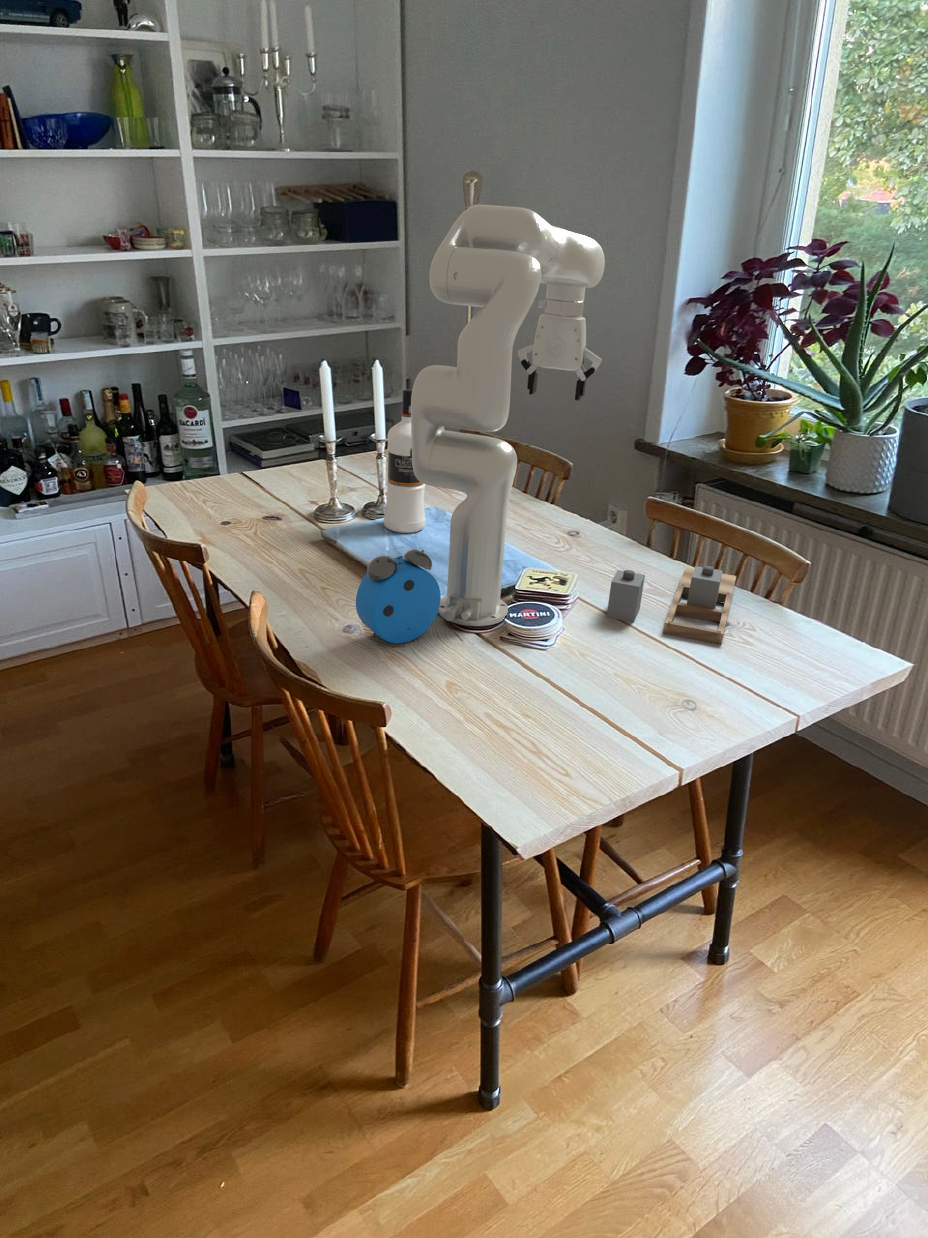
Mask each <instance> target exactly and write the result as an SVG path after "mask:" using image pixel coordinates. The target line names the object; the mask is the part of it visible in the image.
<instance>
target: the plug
mask: <svg viewBox="0 0 928 1238" xmlns="http://www.w3.org/2000/svg"><path fill="white" fill-rule="evenodd" d="M645 577H646V575H645V574H641V573H636V572H635V571H634V570H631V569H625V570H621V569H617V570H616V572H615V574H614V576H613V578H612V580H611V581H610V588H609V589H610V590H609V596H608V603H607V610H606V618H609V619H614V620H618V621H619V620H620V621H625V622H629V623H635V621H636V618H637V616H638V614H639V613H640V608H641V604H642V596H643V590H644V583H645Z"/></svg>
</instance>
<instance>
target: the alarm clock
mask: <svg viewBox="0 0 928 1238" xmlns="http://www.w3.org/2000/svg"><path fill="white" fill-rule="evenodd" d="M432 567H433V562H432V558H431V557H430V555H428V553H426V552H425V550H424V549H421V550H419V549H411V550H410V549H409V550H408V551H406V552H405V553H404V555H400V556H396V557H391V556H390V555H378V556H376V557H374V558H372V560H371V561H370V562H369V563H368V565H367V568H366V574H365V576H364V577H363V578H362V580H361V582H360V584H359V586H358V588H357V591H356V597H355V608H356V613H357V615H358V616H357V617H358V619H359V620H360V621H361V623H362V624H363V625H364V626H365V627H367V629H369V630H370V631H372V632H373V633H372V637H373V638H375V637H376V636H378V637H379V638H381V639H382V640H384V641H386V642H388V643H390V644H405V643H408V642H411V641H413V640H416V639H417V638H419V637H420V636H422V635H423V634H424V633H426V631H427V630H428V629H429V628H430V627H431V625H432V624H433V622H434V621H435V619H436V617H437V615H438V614H439V613H438V610H439V606H440V599H441V589H440V586H439V584H438V581H437V580H436V578H435V577H434V575H433V574H431V573H430V572H429V571H431V570H432ZM427 570H428V571H427Z"/></svg>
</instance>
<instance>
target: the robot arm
mask: <svg viewBox="0 0 928 1238" xmlns="http://www.w3.org/2000/svg"><path fill="white" fill-rule="evenodd" d="M605 265H606V259H605V254H604V251H603V248H602V246H601V245H600V244H599V242H597V241H596V240H595V239H593V238H591V237H588V236H586V235H583V234H579V233H577V232H573V231H570V230H568V229H564V228H561V227H558V226H555V225H551V224H550V223H549V222H548V221H547V220H546V219H544V218H543V217H542V216H541V215H539V214H538V213H537V212H535V211H534V210H531V209H529V208H526V207H521V206H520V207H518V206H508V205H493V204H491V205H490V204H474V205H471V206H469V207H467V208H466V209H464V210H463V211H462V213H461V214H460V215H459V216H458V217H457V219H455V221H454V222H453V224H452V225H451V227H450V229H449V230H448V232H447V233H446V235H445V237H444V238H443V239H442V242H441V243H440V245H439V246H438V247H437V250H436V251H435V254H434V256H433V258H432V260H431V265H430V268H429V274H428V275H429V276H428V277H429V280H428V281H429V288H430V291H432V294H433V296H434V297H435V298H436V299H437V300H438V301H440V302H442V303H445V304H450V305H457V306H466V307H477V308H480V310H479V311H478V312H476V314H475V315H473V316H472V317H471V319H470V320H469V321H468V322H467V324H466V325H465V327H464V328H463V329H462V331H461V332H460V334H459V335H458V336H459V337H458V339H457V359H456V361H457V362H456V366H451V365H450V366H449V365H442V364H440V365H439V364H434V365H427V366H426V367H424V368H423V369H421V371H419V373H418V374H417V375H416V377H415V379H414V383H413V386H412V389H411V390H412V396H411V436H412V464H413V471H414V474H415V476H416V478H417V479H418V480H419V481H420V482H421V483H423V484H425V486H426V485H427V486H431V487H436V488H440V489H447V490H453V491H457V492H461V493H465V494H466V498H465V499H464V500H462V501H461V502H460V503H459V504H458V505H457V506H456V507H455V508H454V510H453V512H452V515H451V518H450V526H449V528H450V531H449V533H450V534H449V547H448V548H449V550H448V551H449V552H448V565H447V566H448V568H447V584H446V585H447V586H446V587H447V589H446V595H445V596H443V597H440V606H439V610H438V613H437V614H439V615H440V617H442V618H443V619H445V621H448V622H451V623H454V624H457V625H460V626H465V627H466V626H467V627H487V626H493V625H495V624H499V623H501V622H502V621H504V620H503V618H504V617H505V616H506V615H507V616H508V614H507V613H509V607H508V604H507V603H506V602H505V601H504V600H503V599H501V592H502V581H503V579H502V578H503V571H504V570H503V568H504V557H505V556H504V555H505V554H504V553H505V543H506V532H507V531H506V529H507V521H508V519H507V518H508V511H509V505H510V504H509V503H510V499H511V493H512V490H513V489H512V488H513V486H514V485H513V484H514V481H515V476H516V473H517V467H518V455H517V453H516V450H515V448H514V447H513V445H511V444H509V443H508V442H507V441H505V440H503V439H499V438H498V437H494V436H492V437H491V436H487V435H481V434H475V433H468V432H466V433H465V432H460V431H459V432H458V431H453V430H446V429H445V428H451V429H457V430H458V429H459V430H464V431H471V432H479V433H480V432H481V433H491V432H492V433H493V432H497V431H499V430H501V429H502V428H503V427H505V425H506V424H507V421H508V420H509V413H510V409H511V407H510V406H511V388H512V386H511V384H512V366H513V365H512V364H513V362H512V361H513V348H514V343H515V340H516V336H517V335H518V332H519V330H520V328H521V326H522V324H523V322H524V321H525V319H526V317H527V314H528V313H529V310H530V308H531V307H532V305H533V303H534V301H535V299H536V296H537V295H538V291H539V289H540V285H541V284H542V285H543V284H544V285H546V293H545V298H544V299H543V300H539V301H538V302H537V308H540V309H542V310H543V313H541V314H540V315H539V317H538V318H539V319H538V321H537V325H536V330H535V334H534V335H535V336H534V341H533V342H534V343H532V344H530V345H529V344H528V345H527V346H525V347H522V348H520V349H518V350H517V352H516V353H517V356H518V359H519V361H520V364H521V365H522V367H523V368H524V370H525V371H526V374H527V376H528V377H527V386H526V387H527V390H529V391H528V395H530V396H531V395H534V394H536V393H537V389H538V376H539V374H538V372H537V371H538V369H540V368H544V369H552V370H561V371H562V370H563V371H570V372H575V375H577V377H578V380H576V384H575V385H576V386H575V394H574V400H575V401H577V402H578V401H580V400H581V399H582V397H584V396H585V393H586V383H587V379H588V378H589V377H591V376H592V375H593V374H595V373H596V371H597V370H598V368H599V367H600V365H601V364H602V362H603V359H602V358H601V357H600V356H598V355H597V354H595V353H593V352H592V351H591V350H589V348H587V324H586V323H587V322H586V317H583V315H584V314H583V313H584V304H585V296H586V289H588V288H589V289H591V288H595V286H597V285H598V284H599V283H600V282H601V280H602V278H603V275H604V273H605ZM531 352H532V355H531V356H532V357H531V358H532V359H531V362H532V363H531V362H530V360H529V359H528V357H527V354H529V353H531ZM586 359H588V360H589V361H591V363H592V364H591V366H590V367H589V368H588V369H587V370H586V369H585V367H584V365H585V362H586Z"/></svg>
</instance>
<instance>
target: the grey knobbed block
mask: <svg viewBox="0 0 928 1238" xmlns="http://www.w3.org/2000/svg"><path fill="white" fill-rule="evenodd" d="M723 571H724V570H721V569H717V568H714V567H713V566H710V565H703V566H697V565H695V566H694V572H693V575H692V578H691V584H690V589H689V595H688V597H687V601H686V604H690V605H696V606H701V607H706V608H712V609H716V606H717V604H718V603H717V598H718V592H719V587H720V582H721V577H722V574H723Z"/></svg>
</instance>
